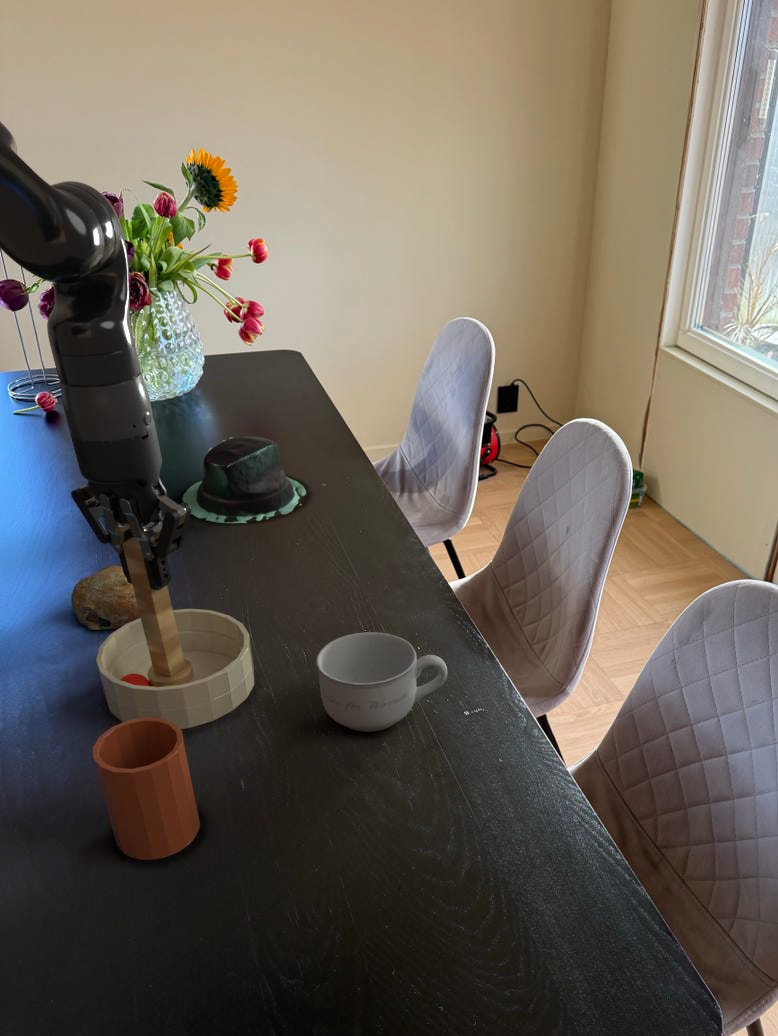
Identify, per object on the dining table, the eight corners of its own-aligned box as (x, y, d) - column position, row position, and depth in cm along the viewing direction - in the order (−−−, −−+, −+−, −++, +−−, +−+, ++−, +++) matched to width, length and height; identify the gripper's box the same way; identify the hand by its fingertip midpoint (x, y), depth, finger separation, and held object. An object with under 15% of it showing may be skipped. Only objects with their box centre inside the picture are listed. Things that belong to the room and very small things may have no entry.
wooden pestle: (141, 690, 98) (103, 546, 89) (170, 667, 102) (137, 526, 92) (176, 700, 97) (141, 555, 87) (204, 677, 101) (174, 535, 91)
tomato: (156, 707, 98) (132, 702, 100) (160, 675, 98) (135, 670, 99) (131, 709, 95) (107, 704, 96) (135, 676, 95) (110, 671, 96)
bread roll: (75, 647, 115) (52, 613, 108) (92, 582, 120) (71, 546, 113) (153, 647, 115) (135, 614, 108) (166, 583, 120) (149, 547, 114)
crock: (99, 848, 81) (73, 756, 75) (155, 797, 87) (134, 708, 81) (164, 874, 79) (141, 782, 73) (216, 820, 84) (200, 731, 78)
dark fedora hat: (272, 528, 135) (154, 515, 139) (318, 535, 153) (213, 524, 157) (281, 429, 134) (162, 419, 138) (327, 448, 152) (220, 439, 156)
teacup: (308, 738, 95) (302, 678, 91) (336, 680, 104) (332, 623, 100) (436, 753, 94) (436, 692, 89) (452, 693, 103) (453, 635, 98)
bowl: (75, 709, 98) (63, 665, 95) (173, 638, 111) (165, 597, 107) (193, 751, 93) (184, 705, 90) (282, 671, 105) (277, 629, 102)
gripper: (24, 425, 82) (71, 586, 92) (142, 448, 78) (179, 615, 87) (84, 401, 88) (123, 555, 97) (197, 421, 83) (226, 581, 93)
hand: (149, 583), depth 92 cm, fingers closed on wooden pestle, 2 cm apart
